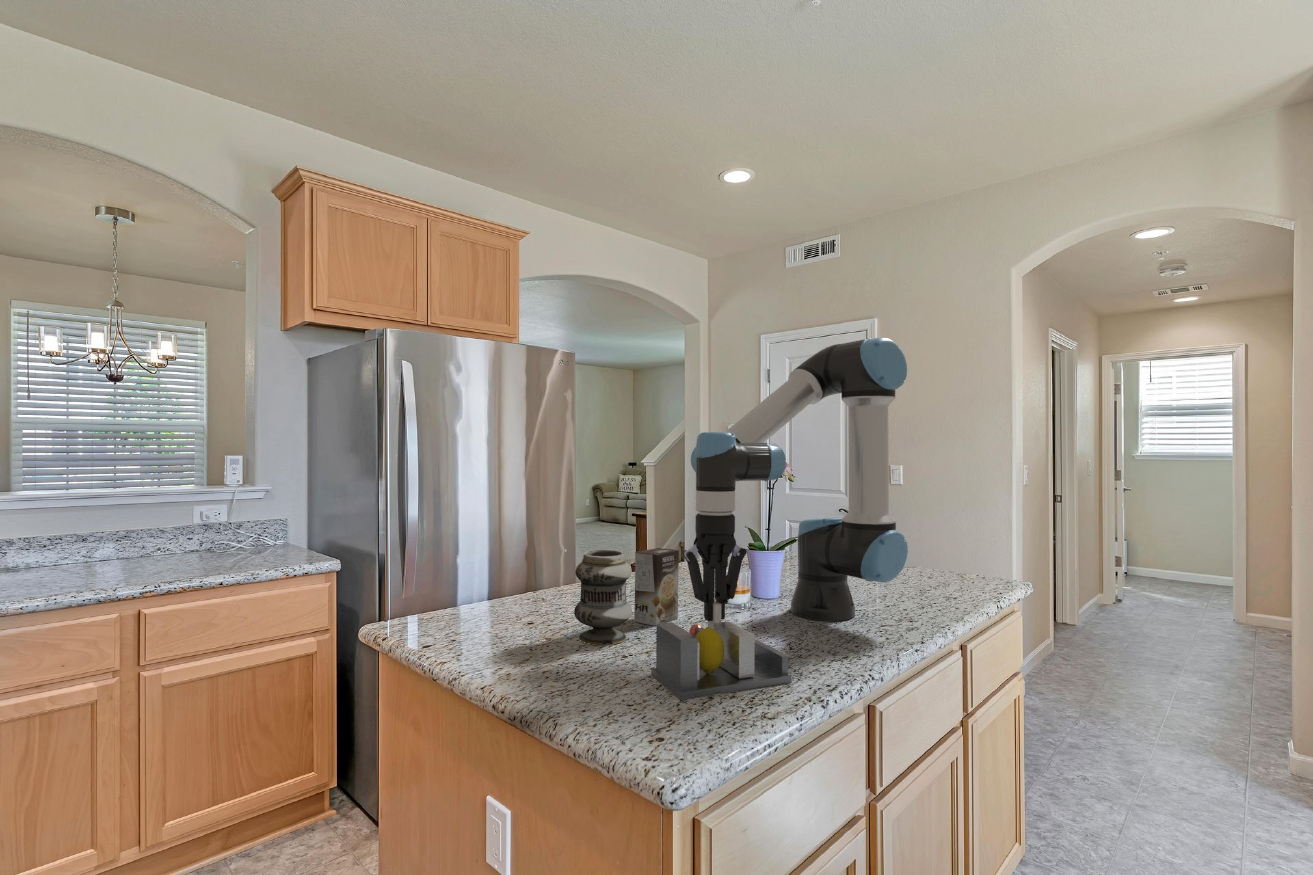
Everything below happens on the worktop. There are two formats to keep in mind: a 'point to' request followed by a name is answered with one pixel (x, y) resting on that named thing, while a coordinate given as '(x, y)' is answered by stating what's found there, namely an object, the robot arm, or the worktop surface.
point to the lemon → (710, 649)
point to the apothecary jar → (603, 596)
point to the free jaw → (734, 648)
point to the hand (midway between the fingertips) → (714, 636)
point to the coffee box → (656, 586)
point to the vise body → (689, 681)
